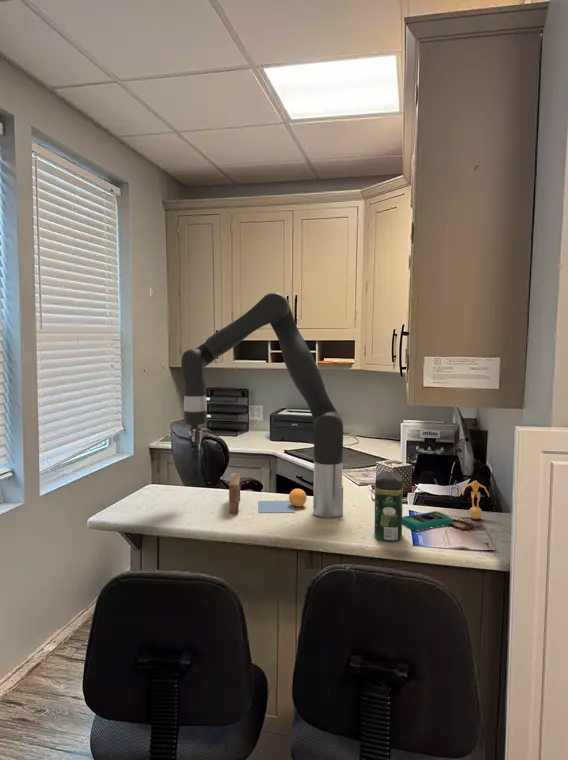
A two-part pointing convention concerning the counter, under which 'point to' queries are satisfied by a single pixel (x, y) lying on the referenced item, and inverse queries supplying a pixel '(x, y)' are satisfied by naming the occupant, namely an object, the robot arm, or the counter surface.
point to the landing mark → (276, 507)
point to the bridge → (234, 493)
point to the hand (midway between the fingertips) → (196, 460)
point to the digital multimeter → (426, 520)
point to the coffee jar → (388, 506)
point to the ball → (297, 497)
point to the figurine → (475, 510)
